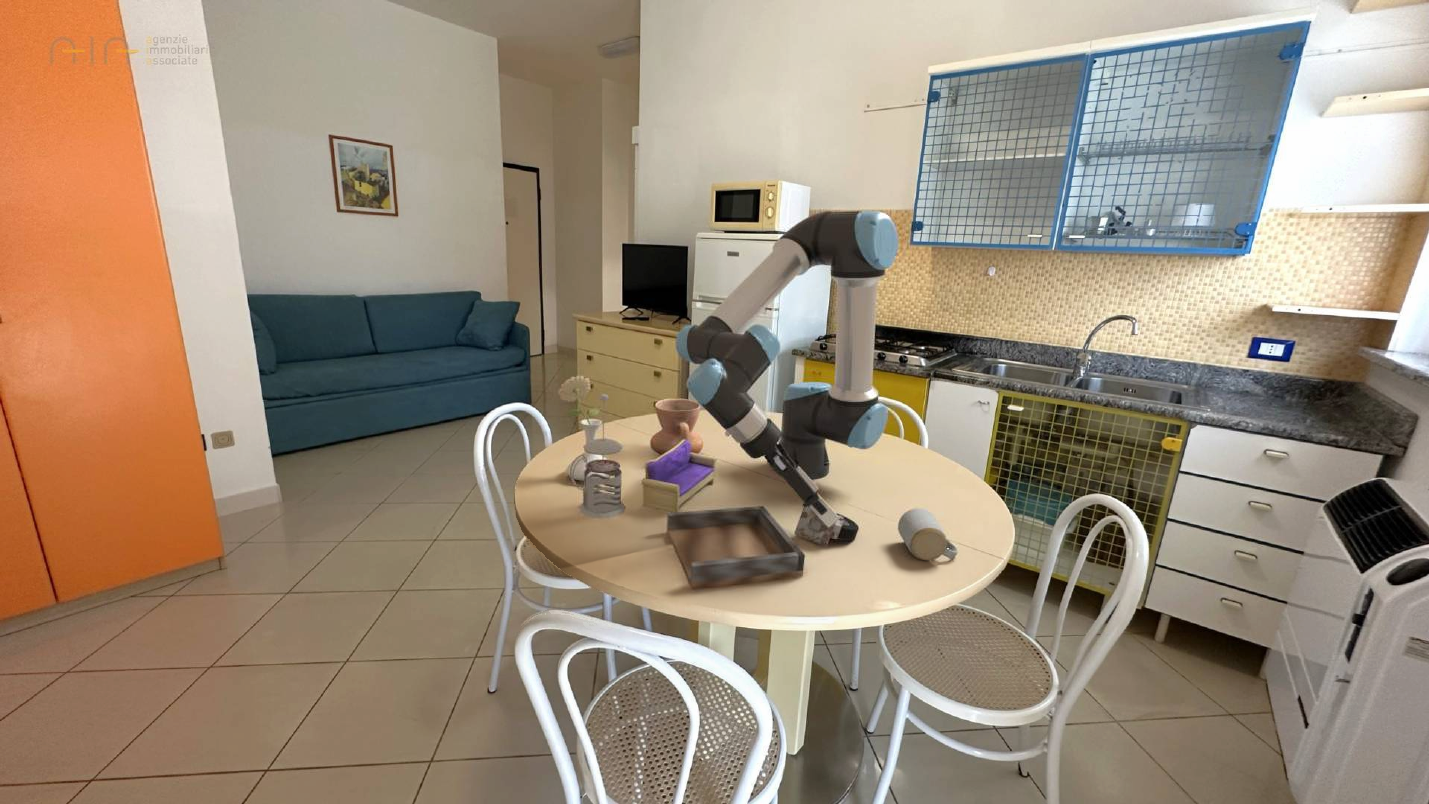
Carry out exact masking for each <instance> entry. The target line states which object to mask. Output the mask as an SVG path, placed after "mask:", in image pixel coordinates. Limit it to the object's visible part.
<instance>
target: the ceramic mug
mask: <svg viewBox="0 0 1429 804" xmlns="http://www.w3.org/2000/svg"><path fill="white" fill-rule="evenodd" d="M897 530H898V534H899V535H900V537H901V539H902V541H903V542H904V544H905V545H906V547H907V548H908V550H909V553H911V554H912V555H913V556H914V557H915V558H917V559H918V560H921V561H934V560H936V559H938V558H940V557H941V556H945V557H946V558H948V559H954V558H955V557H956V556H957V555H958V553H959V550H958V549H957V546H956V545H954V544H953V542H952V541H950V540H949V539H947V536H946V534H945V532H944V530H943V528H942V526H941V525H940V523H939V521H938V520H937V518H936V517H935V515H934V514H933V513H932V512H931V511H930V510H928V509H925V508H921V507H917V508H915V507H914V508H912V509H911V508H910V509H908V510H906V512H904V513H903V514H902V515H901V517H900V518H899V520H898V524H897ZM947 548H949V549H947Z"/></svg>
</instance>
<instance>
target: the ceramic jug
mask: <svg viewBox="0 0 1429 804" xmlns="http://www.w3.org/2000/svg"><path fill="white" fill-rule="evenodd" d="M701 407H702V405H700V404H699V403H698V401H697V400H696V401H695V400H693V399H687V398H686V399H685V398H677V399H675V398H665V399H661V400H658V401H657V402H656V403H655V413H656V416H657V420H658V422H659V424H660V427H661V429H660V430H659V431H657V432H656V433H654V434H653V436H652V437H651V438H650V440H649V441H650V442H649V443H650V447H651V450H652V451H654V452H655V453H656V454H658V455H660V456H661V455H663V454H665V453H666V452H668V451H669V450H671V449H672V448H674V447H675V446H677V445H678V444H679V443H680V442H681V441H682V440H688V441H689V442H690V443H691V451H690V453H695V454H700V452H701V451H702V449H703V447H704V441H703V438H702V436H700V434H698V433H697V432H695V431H694V429H695V425H696V423H697V421H698V418H699V416H700V411H701Z"/></svg>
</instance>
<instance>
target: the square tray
mask: <svg viewBox="0 0 1429 804" xmlns="http://www.w3.org/2000/svg"><path fill="white" fill-rule="evenodd" d="M666 534H667V536H668V539H669V541H670V543H671V546H672V548H673V549H674V553H675V555H676V557H677V559H678V562H679V564H680V566H681V569H682V570H683V573H684V574H685V575H684V576H685V577H686V580H687V582H688V584H689V586H690V589H691V590H696V589H706V588H716V587H723V586H734V585H742V584H749V583H750V584H751V583H759V582H760V583H761V582H766V581H777V580H785V579H794V578H803V576H804V570H805V569H804V568H805V566H804V565H805V557H806V554H805V553H804V552H803V551H802V550H801V548H800V547H799V546H798V545H797V544H796V543H795V541H794V540H793V539H792V538H791V537H790V536H789V534H788V533H787V532H786V531H785V530H784V528H783V527H782V526H781V525H780V524H779V523H778V522H777V520H776V519H775V518H774V517H773V516H772V514H771V513H770V512H769V511H768V509H766V507H764V506H763V505H760V506H759V505H758V506H746V507H745V506H744V507H733V508H732V507H731V508H717V509H705V510H702V509H701V510H691V511H690V510H688V511H679V512H675V513H668V512H667V521H666Z"/></svg>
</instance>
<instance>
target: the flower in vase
mask: <svg viewBox="0 0 1429 804" xmlns="http://www.w3.org/2000/svg"><path fill="white" fill-rule="evenodd" d="M560 387H561V388H559V389H558V390H557V391H558V392H557V393H558V395H559V398H560V400H563V402H564V401H567V402H568V403H569V402H571V403H572V402H576V401H578V405H579V410H578V409H570V410H569V411H567V412H566V413H565V414H564V415H563V417H562V418H570V419H571V418H573V419H575V418H577V417H578V416H579V415H581V413H582V415H583V416H584V419H583V420H580V421H579V424H580V425H581V426H582V428H583V430H584V434H585V435H584V436H585V444H587V443H588V442H590V441H592V440H596V439H597V433H598V430H599V427H600V426H601V425H602V424H603V420H601V419H596V418H592V417H596V416H597V415H598V414H599V412H600V411H601V405H598V406H597V407H594V408H592V409H589V410H588V411H587V413H586V414H585V412H584V410H583V409H582V406H581V405H582V404H581V400H580V399H582V398H585V397H586V395H587V394H588V393H589V391H591V390H592V389H591V381H590V378H589V377H588V378H587V377H586V378H585V377H584V375H581V376H580V375H576V376H575V377H574V376H571V377H570V378H569V379H566V380H565V381H564V383H561V385H560ZM581 455H584V456H585V457H586V458H587V463H588V462H591V461H592V460H594V461H595V460H597V459H598V460H599V459H600V460H602V459H603V460H604V459H606V460H608V459H607V458H606V457H604V458H603V455H595V454H590V453H587V452H586V451H585V450H584V452H583V453H581ZM579 456H580V455H579ZM576 458H577V457H576ZM581 458H583V456H580V457H579V458H577V460H576V461H575V462H574V464H573V466H572V470H571V471H572V473H573V469H574V466H575V465H576V463H577V462H578V461H579V460H580V459H581ZM586 458H585V461H586ZM572 463H573V461H571V462H570V464H569V465H568V466H566V474H567V475H568V477H570V468H571V465H572ZM587 463H585V462H584V460H583V459H582V460H580V462H579V463H578V464H577V465H576V467H575V470H574V480H577V481H579V482H580V481H581V482H584V471H585V470H586V469H587V468H586V466H585V465H586V464H587ZM592 474H599V475H601V476H604V477H607V478H611V476H610V475H606V474H603V473H595V472H590V473H589V474H588V475H587V476H590V475H592ZM592 478H594V479H602V478H599V477H592ZM572 479H573V475H572Z"/></svg>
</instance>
